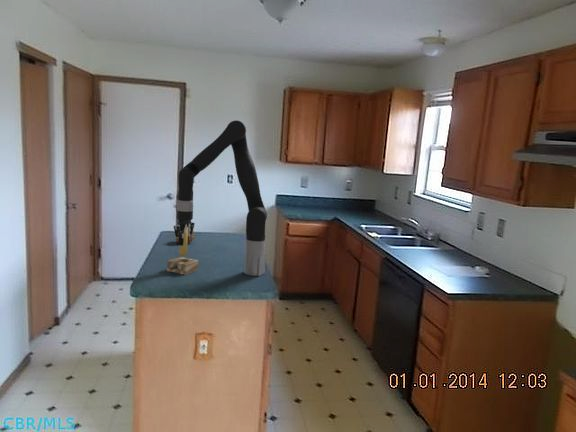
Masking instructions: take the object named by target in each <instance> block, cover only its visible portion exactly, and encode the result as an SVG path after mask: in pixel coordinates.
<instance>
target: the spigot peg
mask: <svg viewBox="0 0 576 432" xmlns="http://www.w3.org/2000/svg"><path fill="white" fill-rule="evenodd" d="M180 231H182V230H180ZM181 235H182V233H181ZM183 238H184V240H183V246H180V245H179V253H178V254H179V257H187V256H188V244H187V241H188V227H186V231H185V233H184V237H183Z"/></svg>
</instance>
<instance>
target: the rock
mask: <svg viewBox="0 0 576 432" xmlns="http://www.w3.org/2000/svg"><path fill="white" fill-rule="evenodd" d="M190 231H191V229H190ZM175 237H176V236H175ZM195 237H196V235H195V231H194V230H193V232H192V235H190V236H189V243H188V244H191V243H192V242H193V241H194V239H195ZM175 241H176V243H178V244H179V238H178V237H176V238H175Z"/></svg>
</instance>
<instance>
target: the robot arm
mask: <svg viewBox="0 0 576 432" xmlns="http://www.w3.org/2000/svg"><path fill="white" fill-rule="evenodd" d="M247 141H248V140H247V127H246V125H245V124H244V122H242V121H240V120H232V121H230V122H229V123H228V124H227V126H226V127H225V129H224V130H223V131H222V133H220V135H218V137H217V138H216V139H214V140H213V141H212V142H211V143H210V144H209V145H207V146H206V147H205V148H204V149H202V151H200V152H199V153H198V154H197V155H196V156H195V157H194V158H192V160H191V161H189V162H188V163H187V164H186V165H185V166H183V167H182V168H180V170H179V172H178V191H177V203H176V220H178V221H177V224H176V225H173V230H174V235H175V237H178V238H179V243H178V246H179V247H180V246H183V240H184V238H183V237H184V233H185V231H186V227H188V241H187V245H189V244H190V243H189V236H190V235H192V232H193V231H194V230H195V229H194V228H195V224H196V223H195V222H192V220H193V219H194V180H195V179H194V178H195V177H196V176H197V175H199V173H201V172H202V171H204V170H205V169H206V168H208V166H210V165H211V164H212V163H213V162H215V160H216V159H218V157H219V156H220V155H221V154H222V153H223V152H224V151H225V150H226V149H227V148H228V147H230V146H231V148H232V152H233V157H234V165H235V166H234V167H235V171H236V176H237V180H238V183H239V186H240V188H241V191H242V193H243V194H244V196H245V199H246V202H247V208H248V209H247V210H248V212H247V215H246V218H245V219H246V221H245V222H246V224H245V225H246V226H245V236H246V237H245V253H244V254H245V255H244V268H243V269H244V271H243V272H244V274H245V275H247V276H251V277H252V276H253V277H261V276H262V275H265V269H266V268H265V267H266V256H267V255H266V254H265V244H266V221H267V218H268V213H267V210H266V207H265V205H264V202H263V199H262V195H261V190H260V183H259V179H258V175H257V174H258V173H257V171H256V170H257V169H256V166H255V163H254V160H253V157H252V154H251V153H250V151H249V146H248V142H247ZM190 229H191V231H190ZM180 230H182V231H180ZM181 233H182V235H181Z"/></svg>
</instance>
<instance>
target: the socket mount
mask: <svg viewBox="0 0 576 432" xmlns="http://www.w3.org/2000/svg"><path fill="white" fill-rule="evenodd" d="M166 262H167V265H166V270H167V271H166V272H171V273H174V272H175V273H174V274H180V275H183V274H184V275H183V276H188V275H190V274H193V273H195V272H197V271H199V260H198V259H193V258H190V257H186V256H178V257H175V258H172V259H169V260H167V261H166ZM189 273H190V274H189Z"/></svg>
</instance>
